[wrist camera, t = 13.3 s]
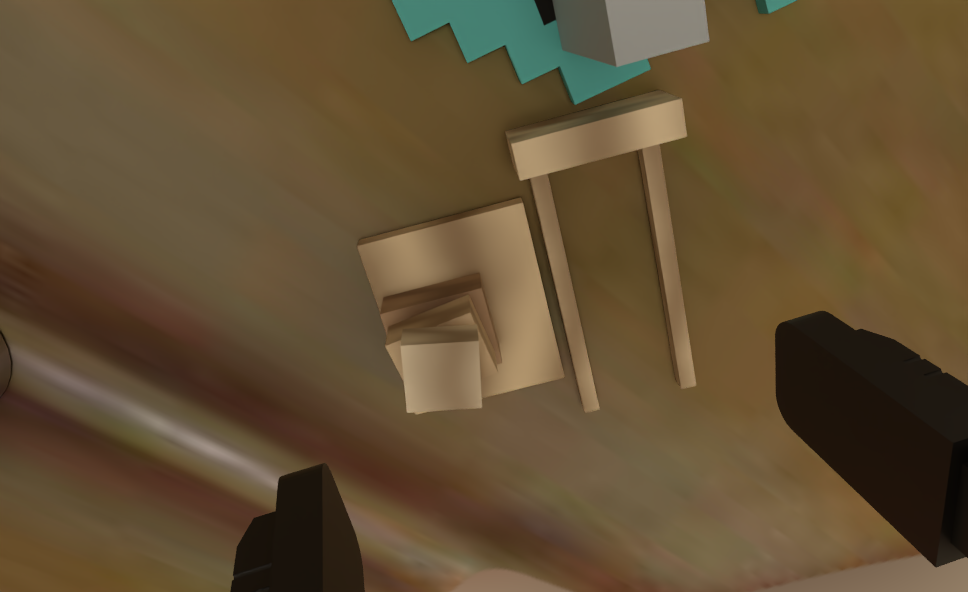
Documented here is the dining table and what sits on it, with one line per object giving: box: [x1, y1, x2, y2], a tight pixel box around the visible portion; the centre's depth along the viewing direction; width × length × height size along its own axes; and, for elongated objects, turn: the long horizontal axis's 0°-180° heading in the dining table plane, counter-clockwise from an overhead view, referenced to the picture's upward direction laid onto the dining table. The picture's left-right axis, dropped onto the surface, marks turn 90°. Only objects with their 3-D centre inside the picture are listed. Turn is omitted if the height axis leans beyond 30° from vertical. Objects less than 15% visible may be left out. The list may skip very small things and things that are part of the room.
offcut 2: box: [385, 294, 498, 381], centre depth 39 cm, size 5×4×2 cm
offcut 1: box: [380, 273, 502, 382], centre depth 41 cm, size 6×5×2 cm
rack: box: [357, 90, 696, 415], centre depth 41 cm, size 19×19×4 cm
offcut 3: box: [400, 324, 482, 413], centre depth 37 cm, size 4×4×2 cm
